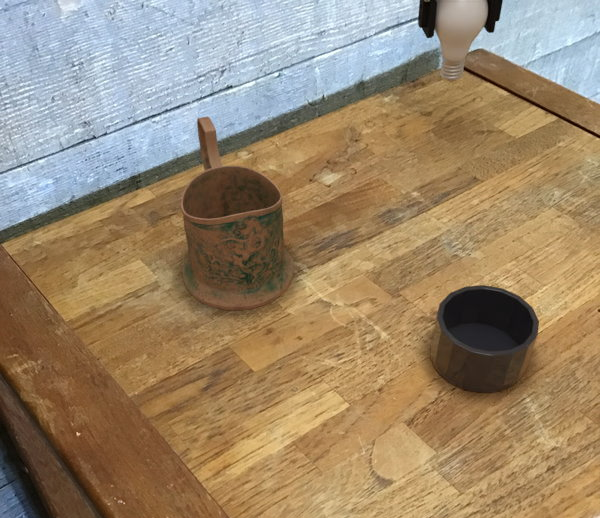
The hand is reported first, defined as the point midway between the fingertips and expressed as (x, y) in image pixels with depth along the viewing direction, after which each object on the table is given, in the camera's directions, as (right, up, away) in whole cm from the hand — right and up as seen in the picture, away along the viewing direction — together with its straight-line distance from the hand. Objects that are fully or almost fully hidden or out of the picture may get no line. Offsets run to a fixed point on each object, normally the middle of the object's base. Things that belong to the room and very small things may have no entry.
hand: (457, 29), depth 85 cm
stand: (-2, -39, -16) cm, 42 cm away
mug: (-26, -27, -6) cm, 38 cm away
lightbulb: (0, -4, +5) cm, 6 cm away
